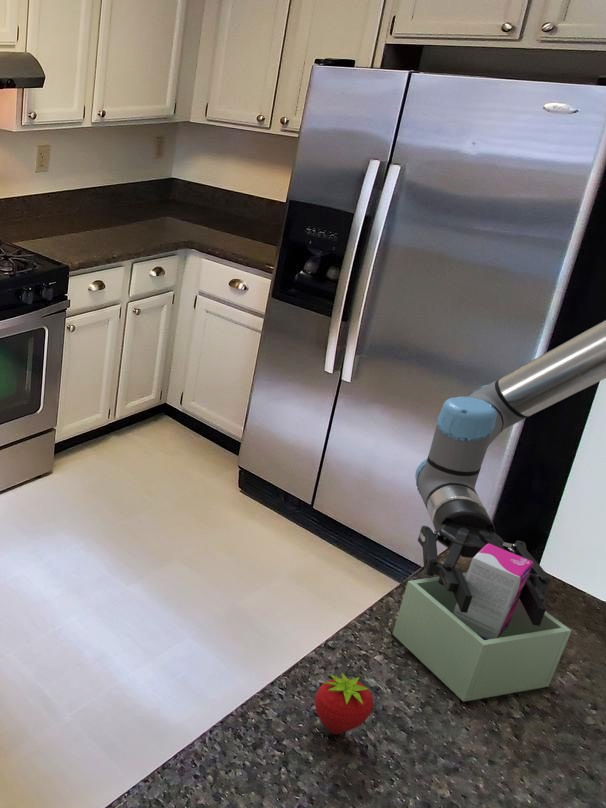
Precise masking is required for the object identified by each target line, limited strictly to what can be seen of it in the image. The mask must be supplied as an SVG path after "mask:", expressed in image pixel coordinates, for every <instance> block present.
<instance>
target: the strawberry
mask: <svg viewBox="0 0 606 808" xmlns="http://www.w3.org/2000/svg"><path fill="white" fill-rule="evenodd" d="M329 676H330V678H332V679H329V680H327V681H324V682H323V683H322V684H321V685H320V687H319V688H318V690H317V691H316V693H315V695H314V705H315V707H314V708H315V713H316V715H317V717H318V719H319V720H320V722H321V724H322V725H323V726H324V727H325V728H326V730H327V732H329V733H330V734H331V735H340V734H341V733H346V732H349V731H352V730H354V729H356V728H358V727H359V726H361V725H363V723H365V722H366V721H367V719H368V718H369V717H370V716H371V714H372V712H373V710H374V696H373V694H372V692H371V690H370V688H369V687H367V686H365V685H364V684H363V683H361V682H359V679H360V676H358V677H355V678H348V677H347V676H346V675H345V674H344V673H343V672H341V677H338V676H336V675H334V674H331V673H329Z"/></svg>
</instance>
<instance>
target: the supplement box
mask: <svg viewBox="0 0 606 808" xmlns="http://www.w3.org/2000/svg"><path fill="white" fill-rule="evenodd" d="M532 565H533V561H530V560H528V559H526V558H523V557H521V556H518V555H516V554H513V553H511V552H508V551H506V550H504V549H501V548H499V547H496V546H494V545H492V544H489V543H488V544H486V545H485V546H484V547H483V548H482V549H481V550H480V551H479V552H478V553H477V554H476V555H475V556H474V557H473V558H472V559H471V562H470V564H469V566H468V567H469V568H468V570H467V572H468V573H467V572H466V573H467V576H466V578H465V580H466V582H467V585H468V587H469V590H470V592H471V594H472V600H471V603H470V606H469V609H468V612H467V613H464V612H461V611H460V609H459V606H458V604H457V603H456V606H455V609H454V612H453V614H454V615H455V616H456V617H457V618H458V619H459V620H461V621H462V622H463V623H464V624H465V625H467V626H468V627H469V628H470V629H471V630H473V631H474V632H475V633H476V634H477V635H479V636H480V637H481V638H482V639H483V640H484V641H485V640H489V639H495V638H498V637H499V636H500V635H501V634H502V633H503V631H504V630H505V629H506V628H507V627H508V625H509V622H510V620H511V617H512V615H513V613H514V610H515V608H516V605H517V602H518V600H519V598H520V595H521V593H522V590H523V587H524V585H525V582H526V580H527V577H528V575H529V572H530V570H531V567H532Z"/></svg>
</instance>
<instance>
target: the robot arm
mask: <svg viewBox="0 0 606 808" xmlns="http://www.w3.org/2000/svg"><path fill="white" fill-rule="evenodd" d="M605 379H606V319H605V320H603V321H602V322H599V323H598V324H596V325H594V326H592V327H591V328H589V329H586V330H585V331H584V332H582V333H580V334H578V335H576V336H574V337H573V338H571V339H569V340H567V341H565V342H563V343H562V344H560V345H558V346H556V347H555V348H553V349H551V350H549V351H547V352H545V353H543V354H541V355H539V356H538V357H537V358H534V359H533V360H530V361H529V362H527V363H525V364H524V365H522V366H520V367H518V368H516V369H515V370H512V371H511V372H509V373H507V374H505V375H504V376H501V377H500V378H499V379H497V380H495V381H493V382H491V383H489V384H485V385H482V386H479V387H478V388H475V389H474V390H473V391H471V392H470V393H468V394H467V396H456V397H450V398H447V399H446V400H445V401H444V403H443V404H442V407H441V409H440V413H439V414H438V415H437V418H436V427H435V430H434V433H433V437H432V441H431V444H430V448H429V451H428V455H427V458H426V459H424V460H422V462H420V464H419V465H418V466H417V468H416V470H415V478H414V479H415V485H416V487H417V488H416V489H417V491H418V494H419V495H420V497H421V499H422V503H423V504H424V507H425V508H426V511H427V513H428V515H429V518H430V520H431V523H432V525H433V529H434V530H433V529H432V528H431V527H429V526H427V525H421V527H420V530H419V535H418V538H417V542H418V543H419V545H420V546H421V547H422V560H423V562H422V563H423V573H424V574H425V575H426V576H429V577H434V575H435V576H437V577H439V576H440V577H439V580H438V583H439V584H441V585H444V586H445V589H446V590H447V591H450V592H453V594H454V596H455V599H456V601H457V604H458V606H459V609H460V611H461V612H464V613H467V612H468V609H469V606H470V603H471V600H472V594H471V592H470V590H469V587H468V585H467V582H466V580H465V578H464V575H463V573H464V572H463V571H462V568H461V567H457V565H458V562H459V561H460V558H467V559H468V558H472V559H473V557H474V556H475V555H476V554H477V553H478V552H479V551H480V550H481V549H482V548H483V547H484V546H485V545H486V544H488V543H489V544H492V545H494V546H496V547H499V548H501V549H504V550H506V551H508V552H511V553H513V554H516V555H518V556H521V557H523V558H526V559H528V560H530V561H533V565H532V567H531V570H530V572H529V575H528V577H527V580H526V582H525V585H524V587H523V590H522V593H521V595H520V600H521V602H522V604H523V606H524V608H525V610H526V612H527V614H528V616H529V618H530V620H531V622H532V624H533V625H537V626H540V624H541V621H542V618H543V616H544V613H545V611H546V612H547V609H546V607H545V605H544V601H545V599H546V597H545V596H546V595H547V593H548V591H549V588H550V586H551V583H552V578H551V577H550V576H549V575H548V573H547V572H546V570H544V569H543V567H542V566H541V565H540V564H539V562H538V561H537V560H536V559H535V557H533V556H532V554H531V553H530V552H529V551H528V550H527V544H526V543H525V541H523V540H515V543H509V542H505V541H504V540H503V538H501V537H500V536H499V535H498V534H497V533H496V528H495V525H494V523H493V521H492V519H491V517H490V515H489V513H488V511H487V510H486V507H485V505H484V504H483V502H482V500H481V498H480V497H479V495H478V493H477V490H476V484H477V481H478V478H479V475H480V472H481V469H482V465H483V462H484V460H485V457H486V453H487V451H488V447H489V446H490V445H491V444H492V443H493V442H494V440H496V439H497V438H498V437H499V436H500V434H501V433H502V432H503V431H504V430H506V429H508V428H509V427H511V426H514V425H515V424H517V423H519V422H521V421H523V420H525V419H527V418H528V417H531V416H532V415H534V414H536V413H539V412H540V411H542V410H545V409H546V408H549V407H550V406H553V405H554V404H556V403H558V402H560V401H563V400H565V399H567V398H568V397H570V396H573V395H574V394H576V393H577V394H578V392H581V391H583V390H585V389H587V388H589V387H591V386H593V385H595V384H597V383H599V382H601V381H603V380H605ZM437 542H438V543H439V544H441V545H443V546H444V547H446V549H448V552H447V555H446V557H445V559H444V561H443V563H442V562H439V557H438V544H437Z"/></svg>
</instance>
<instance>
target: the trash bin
mask: <svg viewBox="0 0 606 808" xmlns="http://www.w3.org/2000/svg"><path fill="white" fill-rule="evenodd" d="M462 573H463V575H464V578H466V576H467V573H468V571H467V572H462ZM439 577H440V576H431V577H426V578H419V579H413V580H408V581H407V584H406V586H405V590H404V593H403V597H402V601H401V604H400V606H399V611H398V613H397V616H396V620H395V624H394V627H393V631H392V636H394V637H395V638H396V640H398V641H399V642H400V643H401V644H402V645H403V646H404V648H406V649H407V650H409V651H410V652H411V654H413V655H414V656H415V658H417V659H418V660H419V661H420V662H421V663H422V664H423V665H424V666H425V667H426V668H427V669H429V671H430V672H431V673H432V674H433V675H435V676H436V677H437V678H438V679H439V680H440V681H441V682H442V683H444V685H445V686H446V687H447V688H449V690H450V691H451V692H452V693H453V694H454V695H456V696H457V698H459V699H460V700H461V701H462V702H463V703H464V702H465V703H466V702H469V701H475V700H481V699H487V698H492V697H493V698H494V697H499V696H503V695H509V694H514V693H515V694H516V693H520V692H525V691H532V690H537V689H543V688H548V687H550V684H551V682H552V679H553V677H554V675H555V672H556V669H557V667H558V665H559V662H560V660H561V658H562V655H563V653H564V650H565V648H566V647H567V643H568V641H569V638H570V636H571V634H572V629H570V628H569V627H568V626H567V625H565V624H564V623H562V622H561V621H560V620H558V619H557V618H555V617H554V615H551V614H550V613H549V612H547V610H546V611H545V613H544V616H543V618H542V621H541V624H540V626H537V625H533V624H532V622H531V620H530V618H529V616H528V614H527V612H526V610H525V608H524V606H523V604H522V602H521V600H520V598H519V600H518V602H517V605H516V608H515V610H514V613H513V615H512V617H511V620H510V622H509V625H508V627H507V628H506V629H505V630H504V631H503V633H502V634H501V635H500V636H499V637H498V638H495V639H489V640H485V641H484V640H483V639H482V638H481V637H480V636H479V635H477V634H476V633H475V632H474V631H473V630H471V629H470V628H469V627H468V626H467V625H465V624H464V623H463V622H462V621H461V620H459V619H458V618H457V617H456V616H455V615H454V614H453V612H454V609H455V606H456V603H457V601H456V599H455V596H454V594H453V592H450V591H447V590H446V589H445V586H444V585H441V584H439V583H438V580H439Z"/></svg>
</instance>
